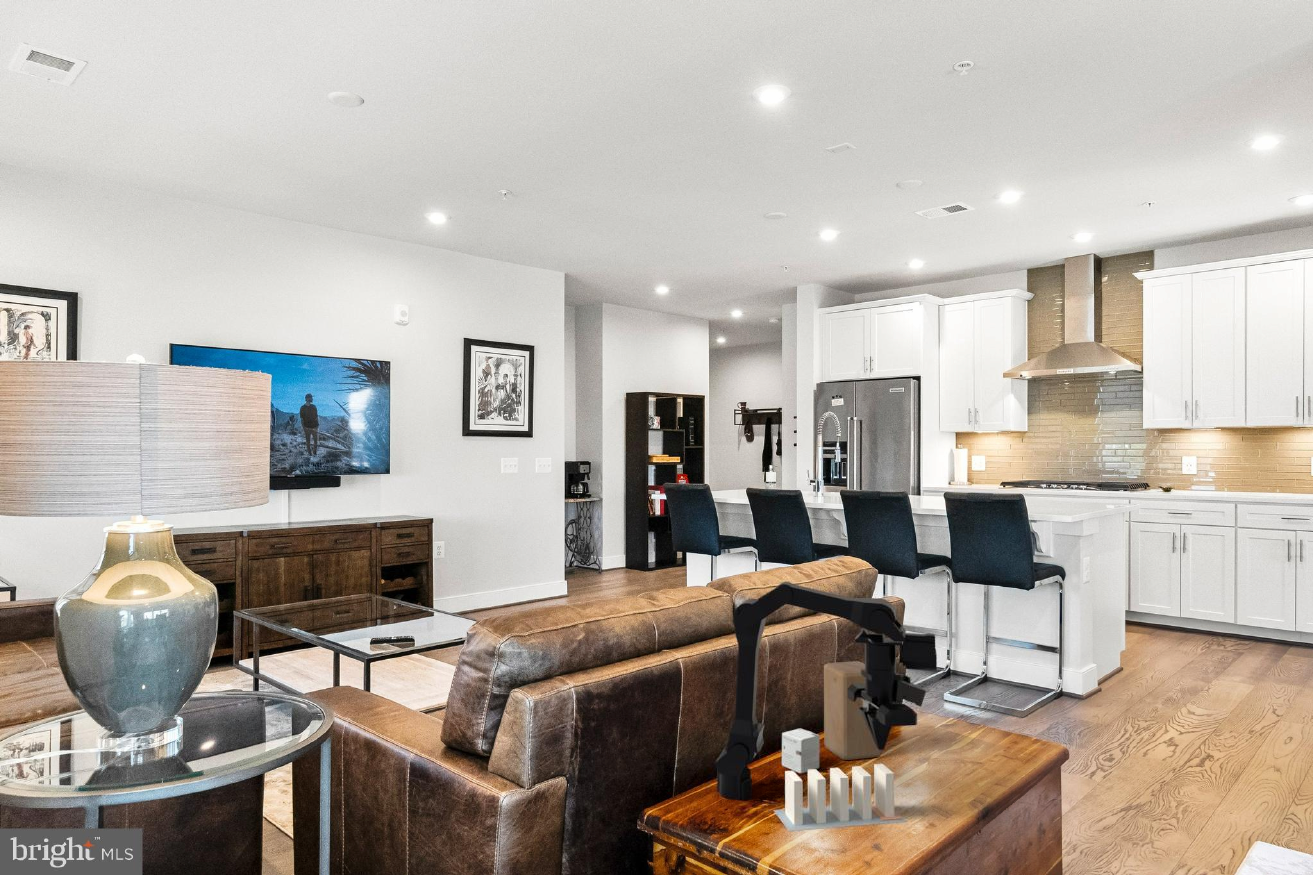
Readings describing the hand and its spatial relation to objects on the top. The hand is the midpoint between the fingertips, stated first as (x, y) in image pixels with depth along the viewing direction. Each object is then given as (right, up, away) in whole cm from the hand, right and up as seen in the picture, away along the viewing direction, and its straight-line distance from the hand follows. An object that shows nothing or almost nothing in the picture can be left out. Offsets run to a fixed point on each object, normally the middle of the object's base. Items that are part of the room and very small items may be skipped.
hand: (880, 749), depth 156 cm
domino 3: (-8, -12, -2) cm, 15 cm away
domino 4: (-4, -12, -1) cm, 13 cm away
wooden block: (+3, -14, +35) cm, 38 cm away
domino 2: (-13, -12, -3) cm, 18 cm away
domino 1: (-17, -12, -4) cm, 21 cm away
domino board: (-8, -13, -2) cm, 15 cm away
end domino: (+1, -12, 0) cm, 12 cm away
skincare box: (-11, -14, +26) cm, 31 cm away
